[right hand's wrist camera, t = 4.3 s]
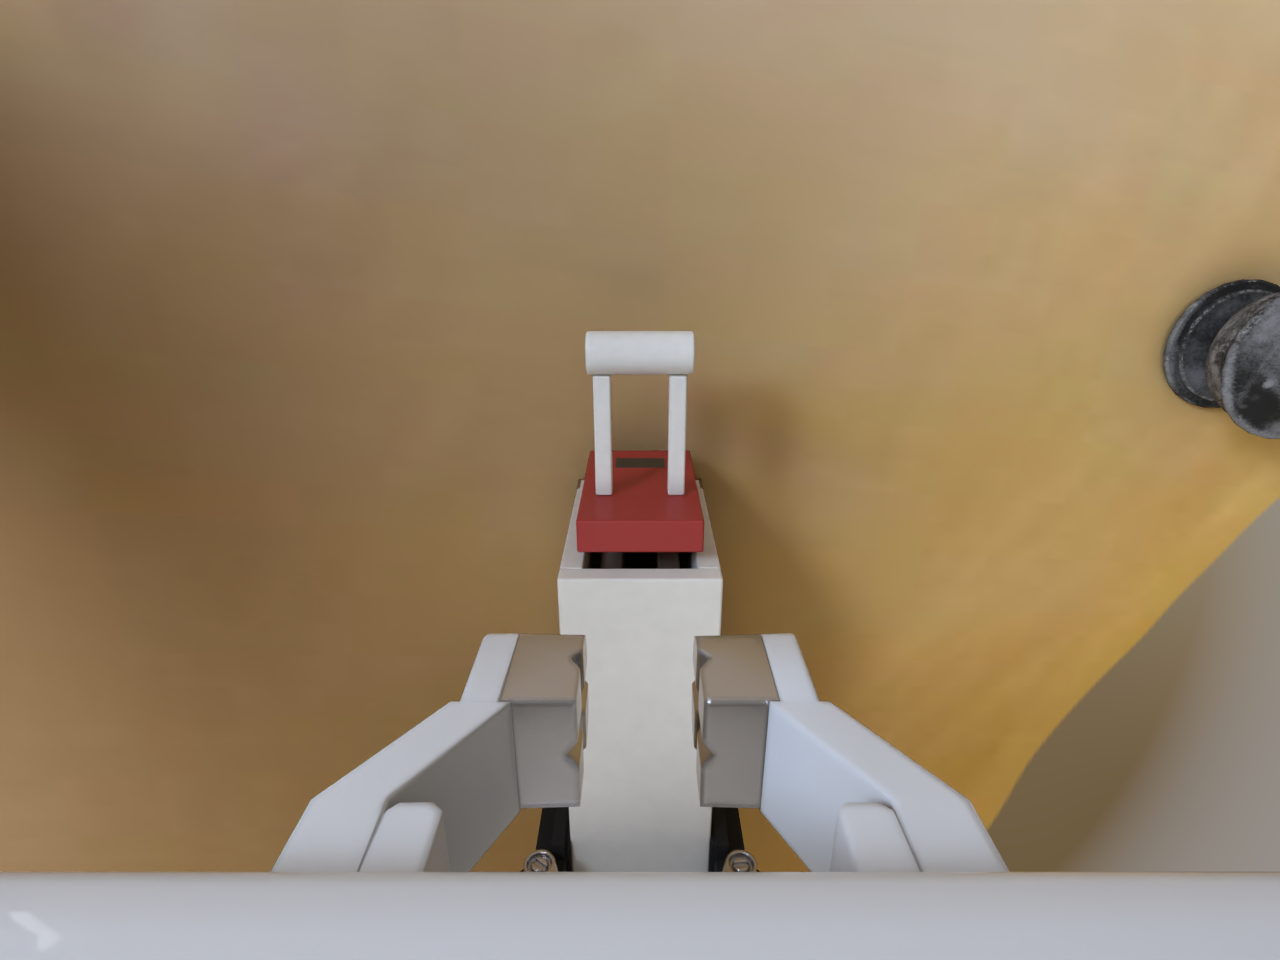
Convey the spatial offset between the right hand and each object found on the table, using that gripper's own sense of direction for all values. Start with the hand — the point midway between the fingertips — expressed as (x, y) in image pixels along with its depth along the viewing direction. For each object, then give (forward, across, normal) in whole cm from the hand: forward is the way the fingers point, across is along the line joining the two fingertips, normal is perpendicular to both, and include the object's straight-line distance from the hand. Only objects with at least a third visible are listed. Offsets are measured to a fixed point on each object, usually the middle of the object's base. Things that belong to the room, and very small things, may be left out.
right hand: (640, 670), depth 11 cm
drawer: (+19, 0, -8) cm, 21 cm away
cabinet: (+20, 0, -14) cm, 24 cm away
